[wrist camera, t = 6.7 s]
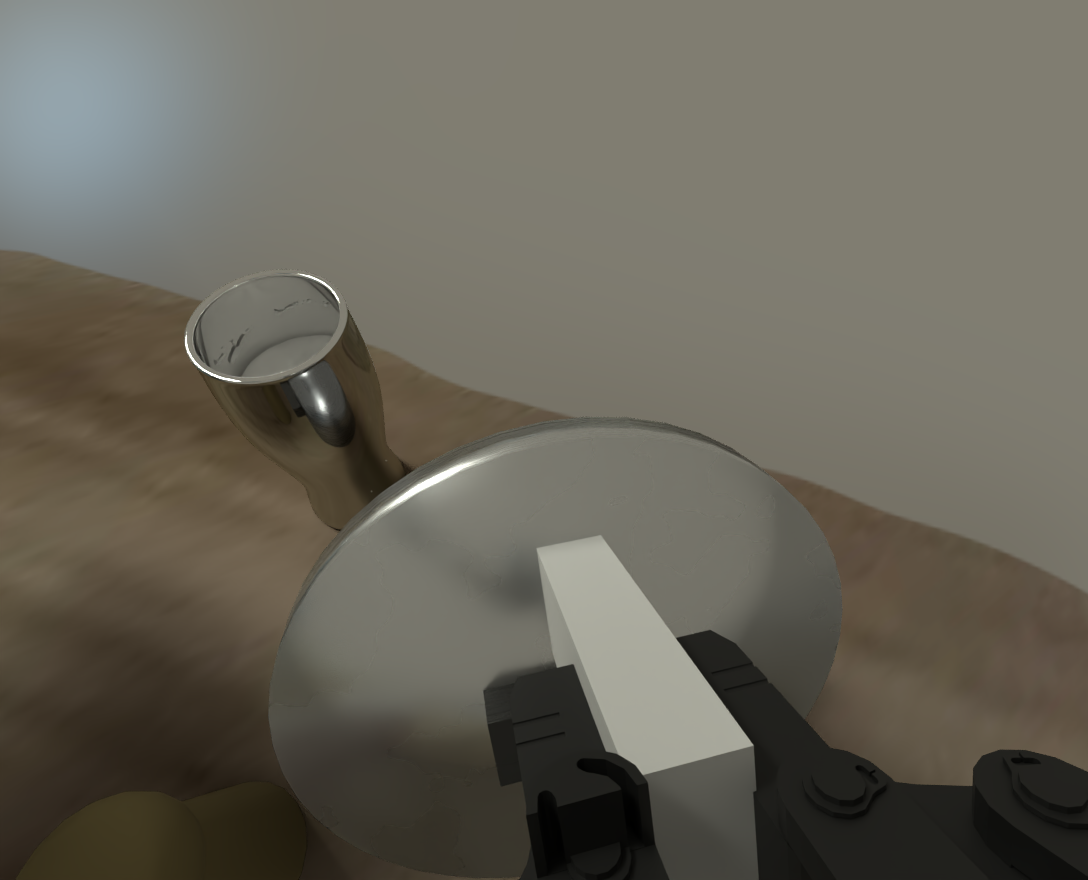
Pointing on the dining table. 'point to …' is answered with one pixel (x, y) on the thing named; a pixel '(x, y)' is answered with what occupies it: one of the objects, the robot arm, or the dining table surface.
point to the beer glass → (298, 385)
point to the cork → (177, 838)
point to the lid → (520, 620)
